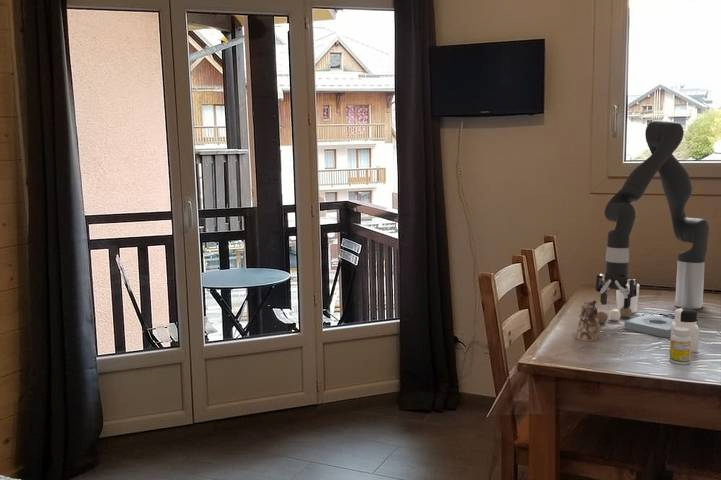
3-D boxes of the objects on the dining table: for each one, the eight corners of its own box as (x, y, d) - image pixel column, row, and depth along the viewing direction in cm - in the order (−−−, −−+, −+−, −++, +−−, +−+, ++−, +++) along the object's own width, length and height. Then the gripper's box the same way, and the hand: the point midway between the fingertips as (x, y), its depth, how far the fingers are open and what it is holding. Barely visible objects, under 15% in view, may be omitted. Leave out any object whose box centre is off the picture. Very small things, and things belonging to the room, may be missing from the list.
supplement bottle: (686, 366, 200) (688, 332, 199) (666, 362, 204) (668, 329, 202) (692, 361, 204) (694, 328, 203) (672, 358, 208) (674, 325, 206)
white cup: (639, 313, 260) (641, 286, 259) (616, 313, 261) (618, 286, 260) (636, 308, 268) (637, 282, 266) (613, 308, 269) (614, 281, 268)
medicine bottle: (695, 346, 219) (697, 307, 218) (698, 352, 213) (700, 312, 211) (670, 344, 222) (672, 305, 220) (671, 350, 215) (674, 311, 213)
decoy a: (623, 315, 258) (623, 304, 257) (633, 317, 255) (634, 306, 254) (617, 317, 255) (617, 306, 255) (627, 319, 252) (628, 308, 252)
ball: (612, 318, 253) (612, 307, 253) (622, 320, 250) (623, 309, 250) (606, 320, 251) (606, 309, 250) (616, 322, 248) (616, 311, 247)
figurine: (571, 336, 231) (573, 299, 229) (589, 334, 234) (591, 297, 232) (586, 342, 225) (588, 304, 223) (604, 339, 227) (606, 302, 226)
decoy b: (599, 321, 250) (599, 309, 250) (609, 323, 247) (610, 311, 247) (592, 322, 248) (593, 311, 247) (602, 325, 245) (603, 313, 244)
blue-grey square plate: (648, 321, 249) (648, 314, 249) (690, 329, 238) (691, 322, 238) (624, 328, 240) (624, 321, 240) (667, 337, 229) (667, 330, 228)
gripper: (642, 261, 244) (639, 308, 246) (604, 256, 255) (602, 301, 257) (630, 263, 240) (627, 311, 242) (592, 258, 251) (590, 304, 253)
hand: (614, 306), depth 250 cm, fingers open, 8 cm apart
